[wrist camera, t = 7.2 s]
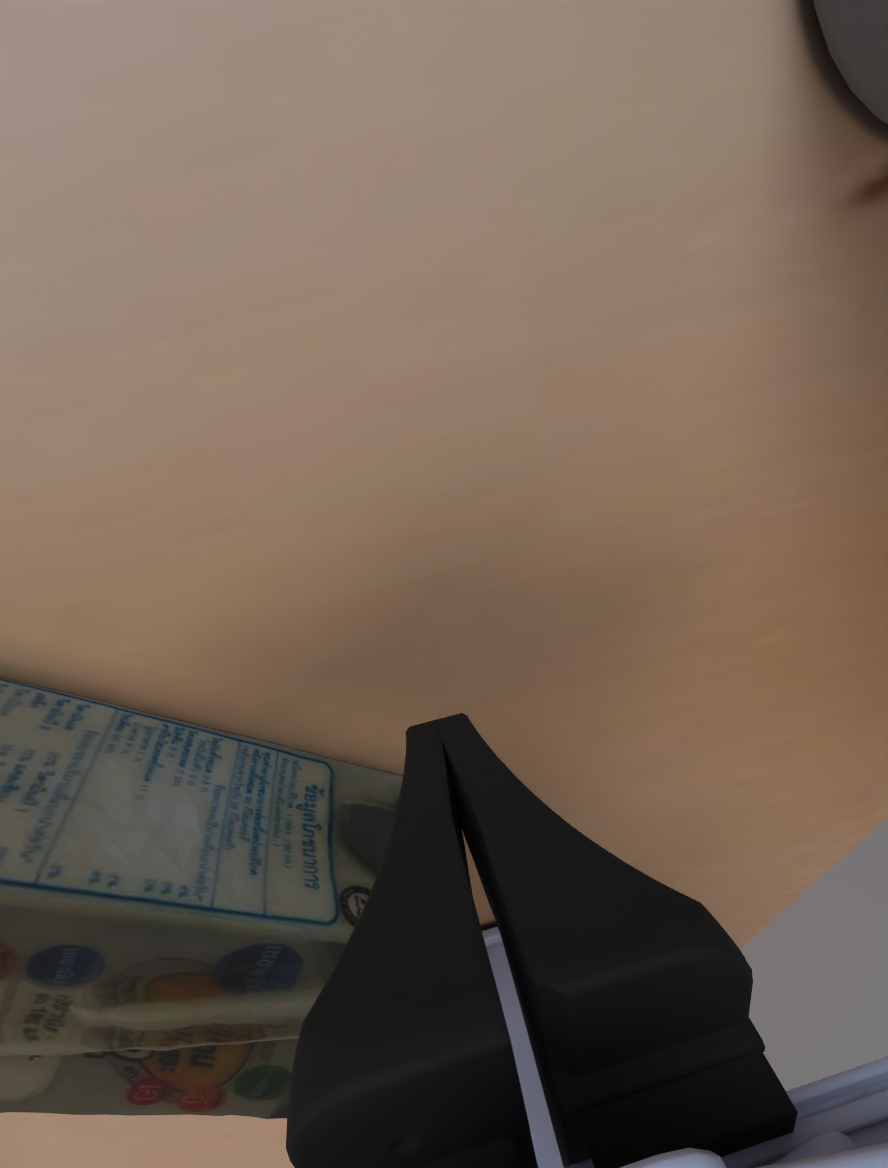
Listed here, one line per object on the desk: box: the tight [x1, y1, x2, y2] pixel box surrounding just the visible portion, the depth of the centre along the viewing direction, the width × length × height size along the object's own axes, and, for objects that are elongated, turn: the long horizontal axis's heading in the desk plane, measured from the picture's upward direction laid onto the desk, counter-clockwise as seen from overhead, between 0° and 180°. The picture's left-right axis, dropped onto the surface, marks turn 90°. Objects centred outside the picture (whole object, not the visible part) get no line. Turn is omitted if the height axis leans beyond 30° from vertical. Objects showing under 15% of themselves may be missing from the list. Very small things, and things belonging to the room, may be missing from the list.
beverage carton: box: [0, 677, 403, 1119], centre depth 14 cm, size 8×19×7 cm, turn 63°
